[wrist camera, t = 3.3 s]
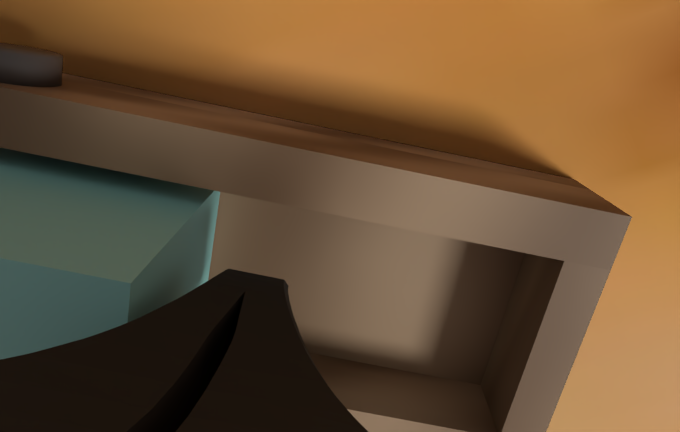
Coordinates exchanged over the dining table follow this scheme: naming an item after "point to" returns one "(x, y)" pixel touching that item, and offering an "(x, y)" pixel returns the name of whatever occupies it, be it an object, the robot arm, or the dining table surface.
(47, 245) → the teal block
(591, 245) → the wooden tray
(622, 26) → the dining table surface
